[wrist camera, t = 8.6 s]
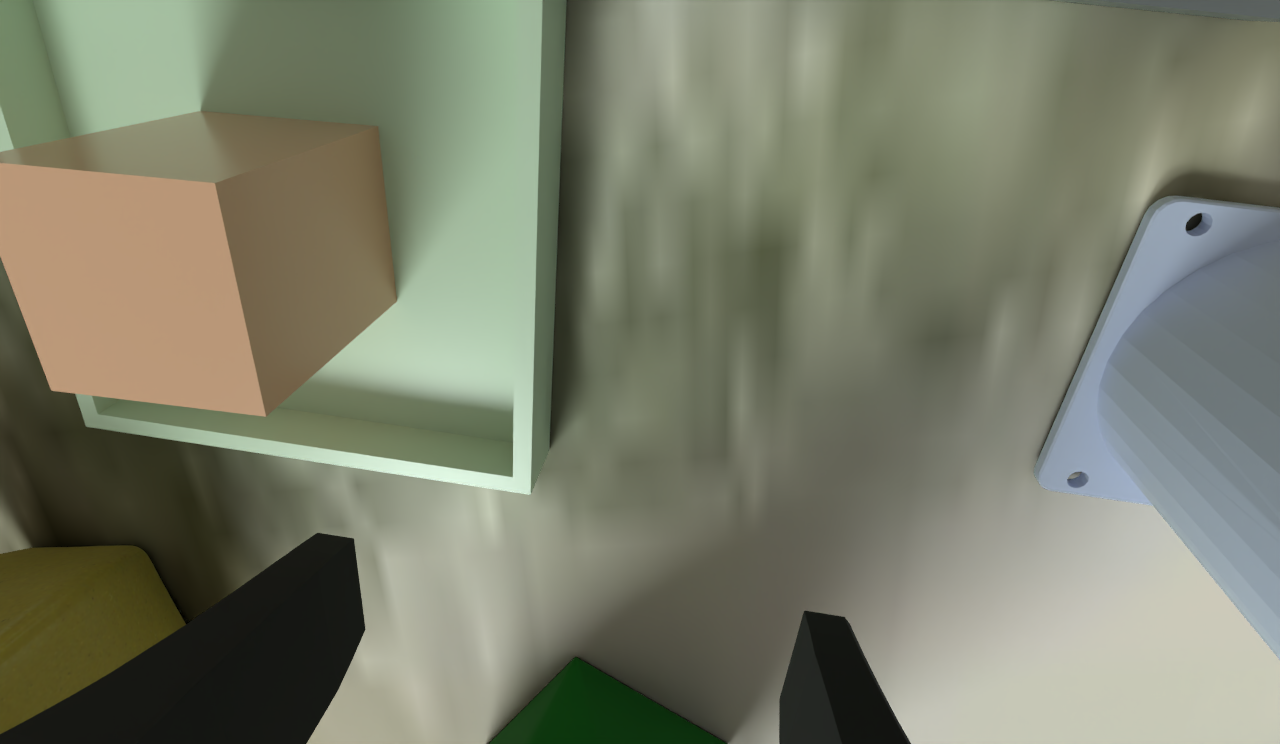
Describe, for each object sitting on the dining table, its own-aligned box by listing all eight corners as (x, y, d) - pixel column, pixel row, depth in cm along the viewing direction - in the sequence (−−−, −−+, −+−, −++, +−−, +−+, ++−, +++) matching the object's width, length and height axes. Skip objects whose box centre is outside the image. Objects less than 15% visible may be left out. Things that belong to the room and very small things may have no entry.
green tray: (568, -49, 15) (544, -56, 13) (549, 449, 21) (530, 494, 19) (6, -106, 16) (-94, -121, 14) (142, 389, 22) (85, 426, 20)
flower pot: (-44, 503, 26) (-389, 726, 18) (166, 494, 24) (-111, 733, 16) (75, 672, 30) (-166, 916, 22) (262, 673, 28) (76, 936, 20)
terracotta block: (378, 126, 17) (214, 182, 12) (397, 301, 19) (265, 416, 14) (200, 110, 17) (-37, 159, 12) (238, 284, 19) (51, 390, 14)
